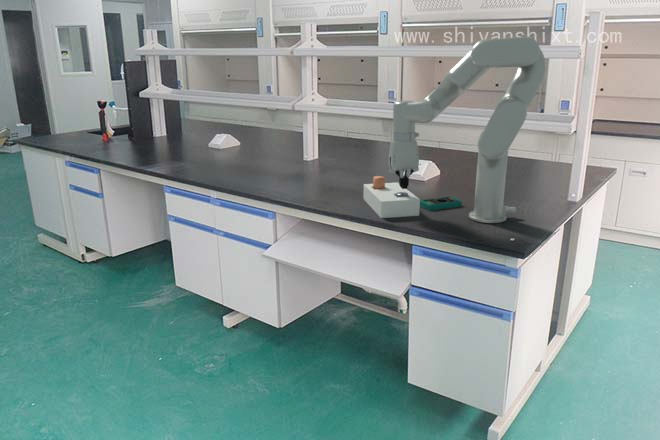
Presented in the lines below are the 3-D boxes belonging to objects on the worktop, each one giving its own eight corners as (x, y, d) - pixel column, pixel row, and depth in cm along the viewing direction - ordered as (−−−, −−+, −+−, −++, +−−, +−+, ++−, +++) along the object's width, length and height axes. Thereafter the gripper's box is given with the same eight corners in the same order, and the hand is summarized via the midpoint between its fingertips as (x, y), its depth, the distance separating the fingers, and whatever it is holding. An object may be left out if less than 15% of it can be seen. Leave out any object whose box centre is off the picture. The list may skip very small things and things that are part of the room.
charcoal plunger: (405, 206, 195) (405, 191, 193) (409, 209, 190) (409, 194, 189) (393, 207, 194) (394, 192, 192) (397, 210, 190) (397, 195, 188)
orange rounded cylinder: (382, 189, 205) (383, 175, 203) (386, 192, 201) (386, 178, 199) (371, 190, 204) (372, 176, 202) (374, 193, 200) (375, 178, 198)
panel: (397, 196, 211) (397, 182, 210) (419, 215, 187) (419, 199, 185) (363, 199, 209) (363, 184, 207) (380, 218, 185) (381, 201, 183)
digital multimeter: (463, 207, 198) (463, 199, 197) (429, 212, 193) (429, 204, 192) (451, 202, 204) (452, 195, 204) (418, 207, 199) (418, 199, 198)
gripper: (420, 134, 189) (420, 184, 194) (380, 136, 187) (381, 187, 192) (428, 137, 182) (427, 188, 187) (386, 139, 180) (386, 192, 185)
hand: (403, 188), depth 190 cm, fingers closed
